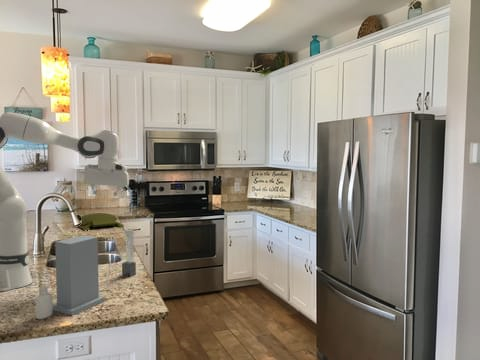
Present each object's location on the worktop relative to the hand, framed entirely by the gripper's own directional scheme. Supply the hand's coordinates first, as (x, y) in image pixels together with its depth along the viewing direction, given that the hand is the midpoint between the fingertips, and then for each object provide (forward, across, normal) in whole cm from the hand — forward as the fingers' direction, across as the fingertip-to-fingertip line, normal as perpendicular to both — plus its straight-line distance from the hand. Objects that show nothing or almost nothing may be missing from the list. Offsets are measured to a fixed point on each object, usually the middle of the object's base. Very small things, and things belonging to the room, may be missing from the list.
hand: (105, 195), depth 182 cm
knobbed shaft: (+27, +13, +8) cm, 31 cm away
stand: (+42, +1, -30) cm, 51 cm away
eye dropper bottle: (+43, -8, -40) cm, 59 cm away
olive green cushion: (+34, -38, +134) cm, 144 cm away
